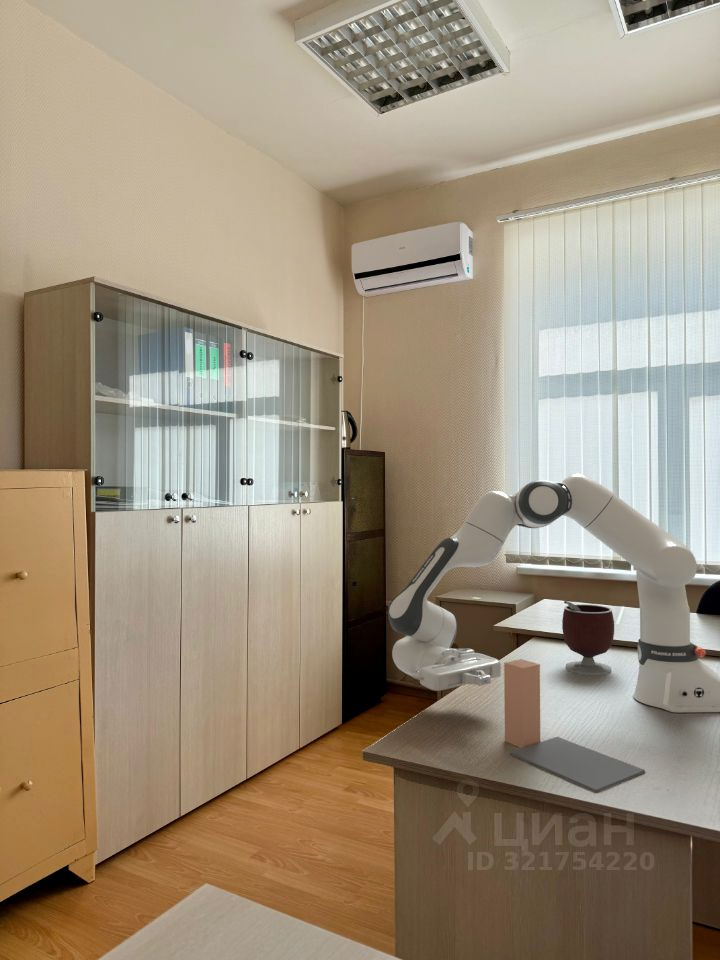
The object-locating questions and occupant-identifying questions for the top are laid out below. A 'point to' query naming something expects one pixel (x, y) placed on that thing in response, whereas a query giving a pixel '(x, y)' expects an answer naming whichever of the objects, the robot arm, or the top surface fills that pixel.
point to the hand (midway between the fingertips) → (485, 681)
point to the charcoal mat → (577, 763)
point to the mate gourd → (588, 636)
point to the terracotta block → (522, 702)
